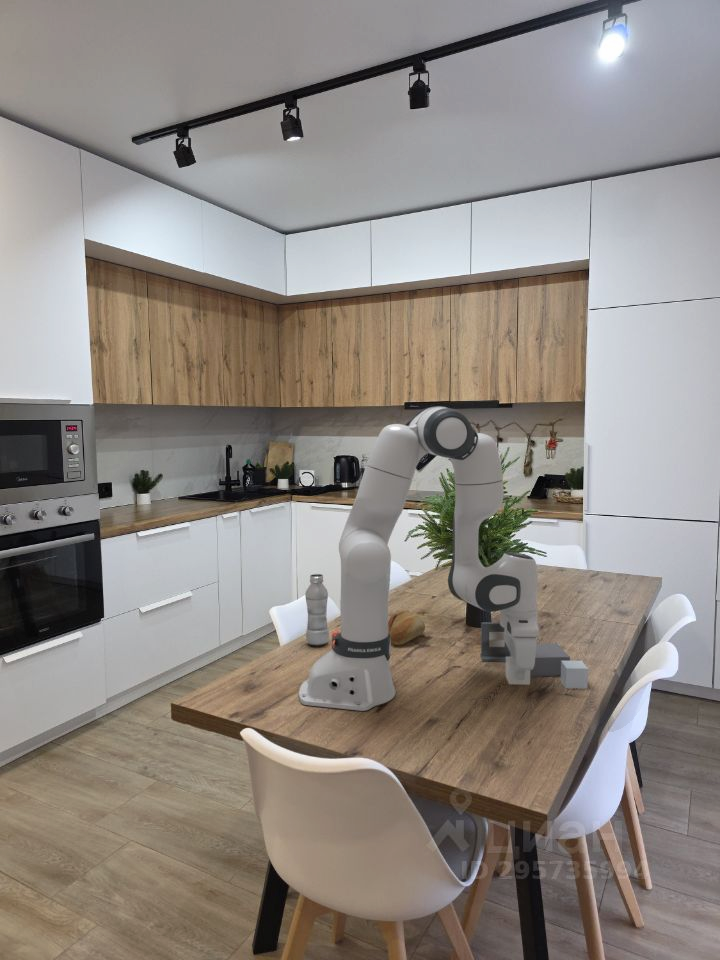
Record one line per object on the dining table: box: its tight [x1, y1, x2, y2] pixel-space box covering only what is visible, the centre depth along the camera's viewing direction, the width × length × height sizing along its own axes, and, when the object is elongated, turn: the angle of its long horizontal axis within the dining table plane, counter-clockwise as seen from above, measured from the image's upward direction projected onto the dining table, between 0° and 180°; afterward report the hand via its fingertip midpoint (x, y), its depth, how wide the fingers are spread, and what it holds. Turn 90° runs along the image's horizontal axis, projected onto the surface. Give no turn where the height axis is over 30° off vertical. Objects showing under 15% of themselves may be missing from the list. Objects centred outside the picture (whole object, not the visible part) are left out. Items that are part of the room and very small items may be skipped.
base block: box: [530, 642, 571, 677], centre depth 167 cm, size 10×10×5 cm
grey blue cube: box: [560, 660, 589, 690], centre depth 157 cm, size 5×5×5 cm
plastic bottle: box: [304, 573, 330, 646], centre depth 186 cm, size 6×7×20 cm
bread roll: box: [388, 610, 426, 646], centre depth 190 cm, size 10×15×8 cm, turn 149°
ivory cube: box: [505, 657, 531, 686], centre depth 160 cm, size 5×5×5 cm
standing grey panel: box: [479, 622, 511, 663], centre depth 174 cm, size 8×4×10 cm, turn 87°
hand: (517, 673), depth 160 cm, fingers closed on ivory cube, 5 cm apart
